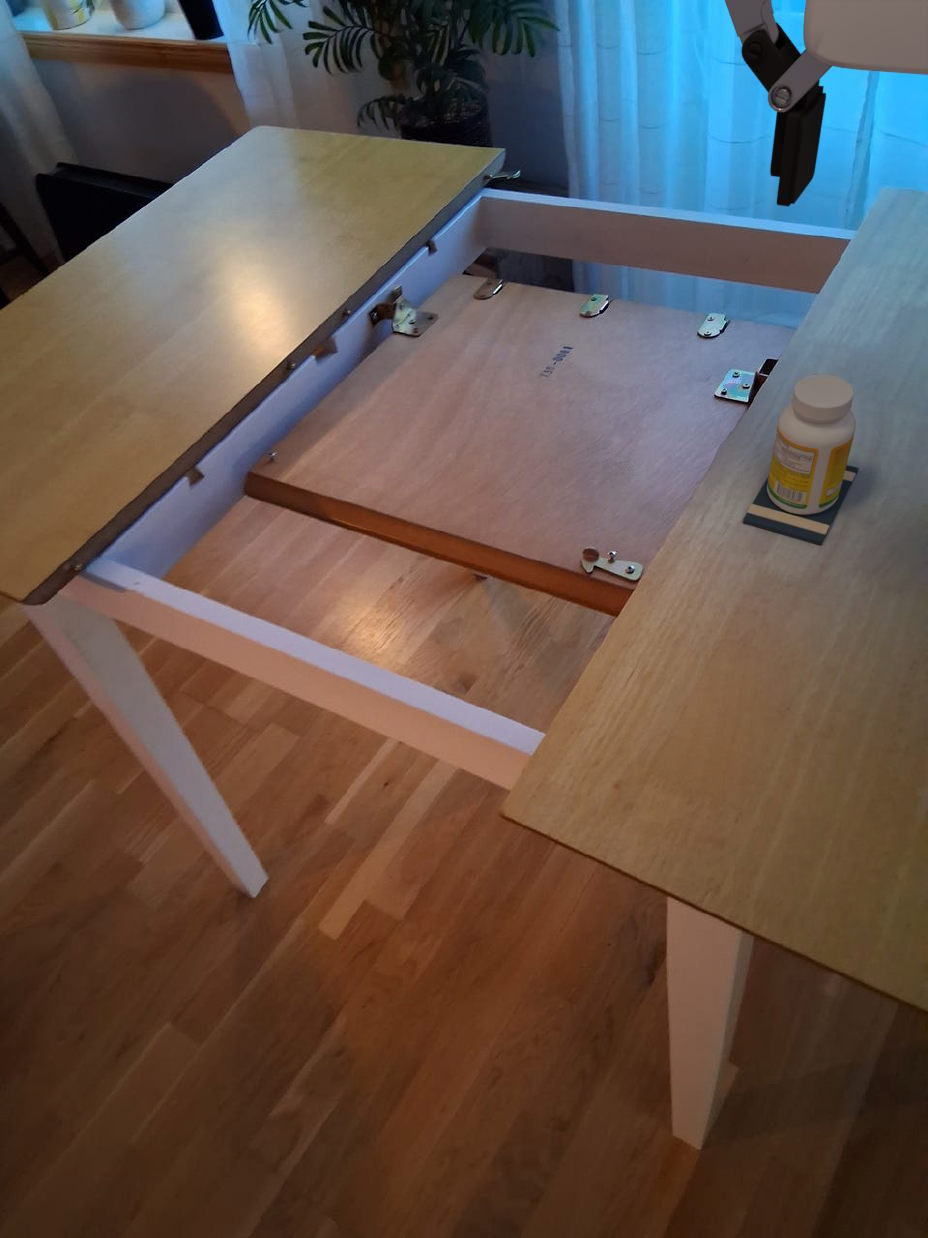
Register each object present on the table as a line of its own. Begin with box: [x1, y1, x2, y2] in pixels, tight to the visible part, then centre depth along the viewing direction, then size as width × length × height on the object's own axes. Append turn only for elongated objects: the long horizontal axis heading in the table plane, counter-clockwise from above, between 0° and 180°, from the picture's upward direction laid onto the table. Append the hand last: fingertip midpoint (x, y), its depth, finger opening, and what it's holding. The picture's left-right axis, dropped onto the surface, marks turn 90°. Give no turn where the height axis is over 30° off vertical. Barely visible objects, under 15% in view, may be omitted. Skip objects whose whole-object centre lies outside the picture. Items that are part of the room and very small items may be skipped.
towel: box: [742, 465, 859, 546], centre depth 72 cm, size 6×9×1 cm, turn 148°
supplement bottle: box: [767, 373, 857, 515], centre depth 68 cm, size 5×5×10 cm
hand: (904, 206), depth 41 cm, fingers open, 9 cm apart
